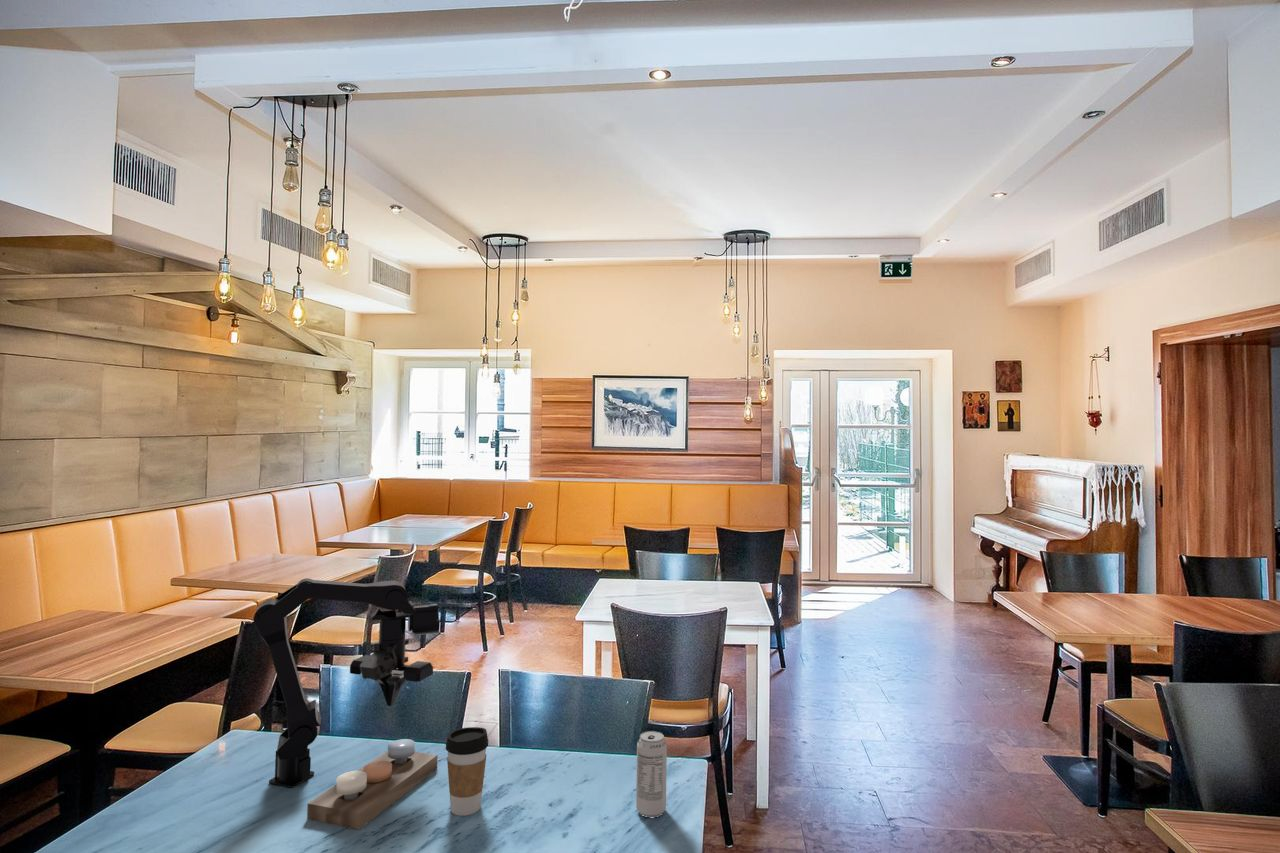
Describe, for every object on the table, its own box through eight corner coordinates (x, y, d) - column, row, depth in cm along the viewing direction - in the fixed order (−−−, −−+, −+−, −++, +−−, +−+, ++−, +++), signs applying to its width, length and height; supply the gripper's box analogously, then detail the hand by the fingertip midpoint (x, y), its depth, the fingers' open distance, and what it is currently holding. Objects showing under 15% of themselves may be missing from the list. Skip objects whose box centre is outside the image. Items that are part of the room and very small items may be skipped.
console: (307, 819, 131) (307, 803, 132) (391, 761, 156) (391, 747, 157) (359, 829, 128) (359, 813, 128) (437, 768, 153) (437, 755, 153)
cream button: (329, 807, 133) (330, 781, 133) (349, 793, 138) (349, 769, 138) (353, 812, 131) (354, 786, 131) (372, 798, 137) (373, 773, 137)
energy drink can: (669, 807, 138) (670, 732, 138) (660, 822, 132) (661, 744, 133) (641, 801, 140) (642, 728, 140) (631, 816, 134) (632, 739, 135)
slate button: (381, 771, 148) (382, 747, 148) (397, 760, 153) (398, 737, 154) (403, 774, 147) (404, 751, 147) (419, 763, 152) (419, 740, 152)
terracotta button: (356, 795, 140) (357, 770, 141) (374, 782, 146) (375, 758, 146) (379, 799, 139) (380, 774, 139) (396, 786, 144) (397, 762, 144)
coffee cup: (476, 821, 131) (477, 743, 132) (436, 816, 133) (438, 738, 134) (493, 800, 140) (495, 726, 140) (456, 795, 141) (457, 722, 142)
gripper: (333, 642, 151) (331, 713, 151) (405, 650, 146) (403, 724, 146) (367, 630, 162) (365, 696, 161) (435, 637, 157) (433, 705, 156)
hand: (390, 705), depth 156 cm, fingers closed
